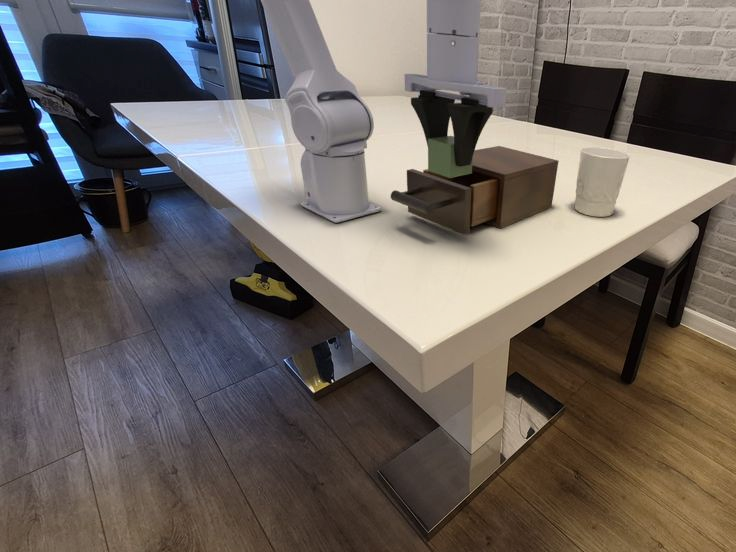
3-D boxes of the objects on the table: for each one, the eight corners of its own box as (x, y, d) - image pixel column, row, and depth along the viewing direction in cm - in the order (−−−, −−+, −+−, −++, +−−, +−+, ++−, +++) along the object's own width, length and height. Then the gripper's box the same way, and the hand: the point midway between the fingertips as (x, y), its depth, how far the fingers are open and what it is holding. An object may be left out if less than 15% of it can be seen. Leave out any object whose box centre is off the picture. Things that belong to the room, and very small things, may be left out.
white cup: (624, 213, 71) (638, 155, 66) (599, 222, 66) (612, 160, 61) (588, 200, 76) (598, 145, 71) (561, 207, 71) (571, 149, 66)
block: (427, 171, 51) (427, 138, 49) (450, 166, 54) (450, 135, 52) (450, 178, 49) (450, 144, 47) (472, 173, 52) (473, 141, 50)
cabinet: (500, 228, 60) (504, 174, 56) (440, 206, 67) (440, 156, 62) (551, 207, 70) (558, 160, 66) (495, 189, 77) (499, 145, 73)
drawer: (438, 244, 51) (438, 197, 48) (382, 219, 57) (379, 175, 54) (521, 212, 64) (525, 173, 61) (468, 194, 70) (469, 157, 67)
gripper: (527, 42, 43) (515, 169, 50) (434, 35, 51) (434, 146, 58) (485, 37, 38) (477, 178, 45) (388, 30, 46) (394, 152, 53)
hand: (450, 161), depth 51 cm, fingers closed on block, 4 cm apart
